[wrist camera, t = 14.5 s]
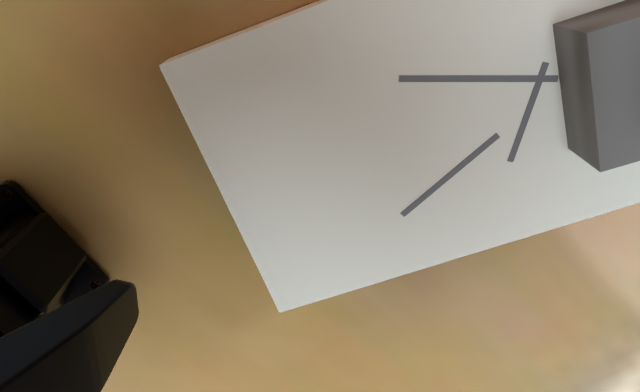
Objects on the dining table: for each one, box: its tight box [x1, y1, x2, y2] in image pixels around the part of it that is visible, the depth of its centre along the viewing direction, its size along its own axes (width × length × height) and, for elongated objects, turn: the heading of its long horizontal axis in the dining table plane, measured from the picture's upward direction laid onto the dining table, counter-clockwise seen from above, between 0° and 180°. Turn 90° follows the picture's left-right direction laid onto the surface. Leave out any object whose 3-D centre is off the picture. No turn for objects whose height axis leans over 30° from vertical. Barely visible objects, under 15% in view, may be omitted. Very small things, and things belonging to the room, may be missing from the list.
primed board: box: [159, 0, 640, 313], centre depth 20 cm, size 22×12×2 cm, turn 110°
